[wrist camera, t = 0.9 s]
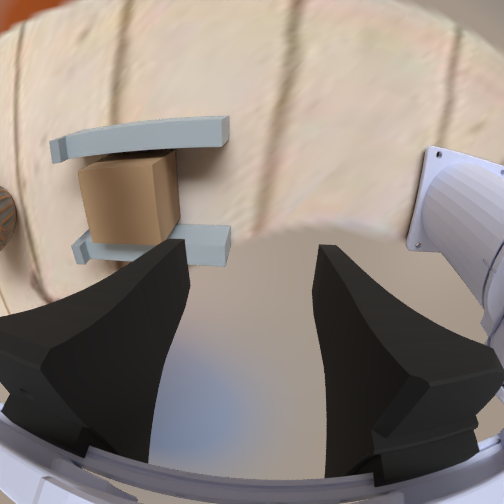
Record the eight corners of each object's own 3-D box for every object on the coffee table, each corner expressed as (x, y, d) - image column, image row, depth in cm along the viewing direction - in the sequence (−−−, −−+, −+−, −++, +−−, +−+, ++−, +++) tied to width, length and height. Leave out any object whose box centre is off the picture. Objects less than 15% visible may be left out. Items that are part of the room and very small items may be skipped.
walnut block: (175, 149, 17) (151, 164, 14) (180, 217, 20) (162, 245, 16) (109, 155, 18) (77, 171, 14) (118, 217, 20) (92, 242, 17)
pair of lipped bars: (229, 115, 16) (218, 120, 13) (230, 244, 21) (223, 273, 18) (80, 131, 17) (49, 141, 14) (98, 240, 21) (76, 263, 18)
